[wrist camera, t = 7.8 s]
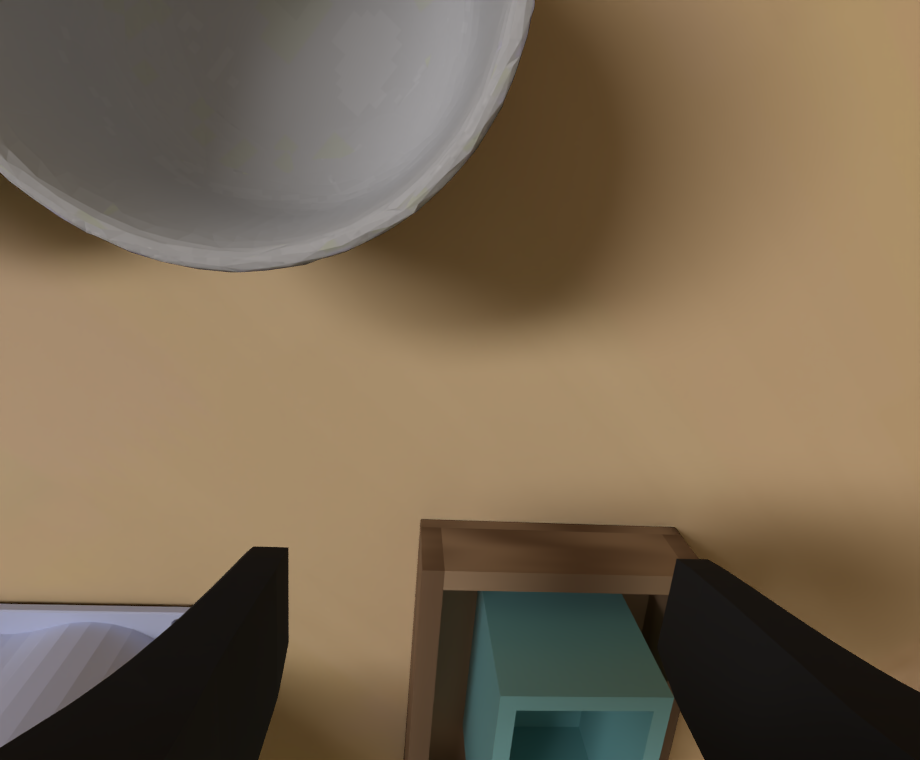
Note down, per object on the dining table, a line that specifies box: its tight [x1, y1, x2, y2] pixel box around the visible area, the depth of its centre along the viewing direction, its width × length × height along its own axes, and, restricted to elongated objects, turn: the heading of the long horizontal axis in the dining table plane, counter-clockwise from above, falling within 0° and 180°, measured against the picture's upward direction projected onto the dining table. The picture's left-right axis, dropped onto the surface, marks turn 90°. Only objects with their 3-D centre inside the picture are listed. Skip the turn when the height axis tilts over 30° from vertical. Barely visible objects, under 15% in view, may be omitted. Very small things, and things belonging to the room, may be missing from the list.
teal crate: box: [463, 591, 674, 760], centre depth 21 cm, size 5×7×6 cm
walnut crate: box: [404, 519, 698, 760], centre depth 23 cm, size 9×11×3 cm
